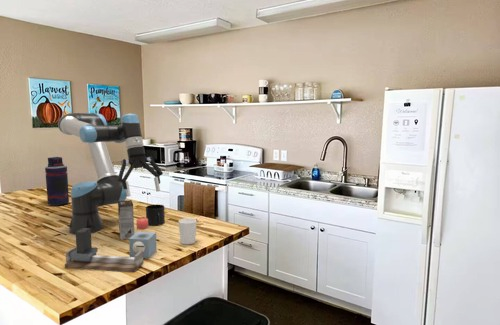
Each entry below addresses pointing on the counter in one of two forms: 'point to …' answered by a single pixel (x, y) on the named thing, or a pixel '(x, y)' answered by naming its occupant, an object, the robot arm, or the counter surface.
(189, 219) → the white cup
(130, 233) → the coffee box
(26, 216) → the counter surface
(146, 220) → the plunger
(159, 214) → the mug
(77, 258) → the carriage
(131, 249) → the pale blue block
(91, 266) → the rail
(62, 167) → the striped navy bottle
